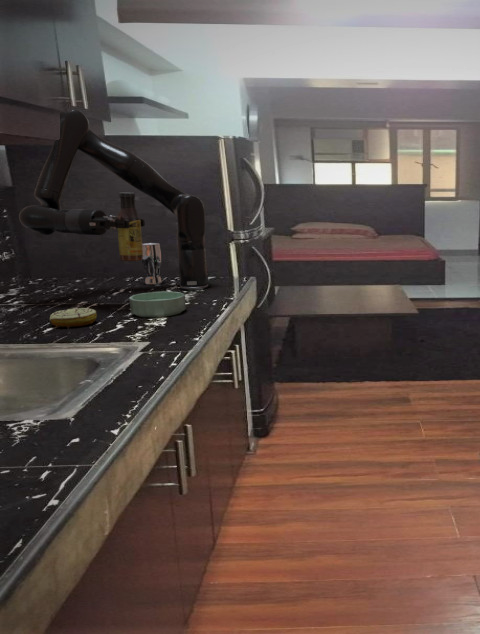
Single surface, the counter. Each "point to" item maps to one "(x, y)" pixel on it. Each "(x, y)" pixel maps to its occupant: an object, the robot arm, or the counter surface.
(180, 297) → the bowl
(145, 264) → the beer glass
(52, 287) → the counter surface
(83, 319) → the decorated donut
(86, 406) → the counter surface
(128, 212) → the sauce bottle
